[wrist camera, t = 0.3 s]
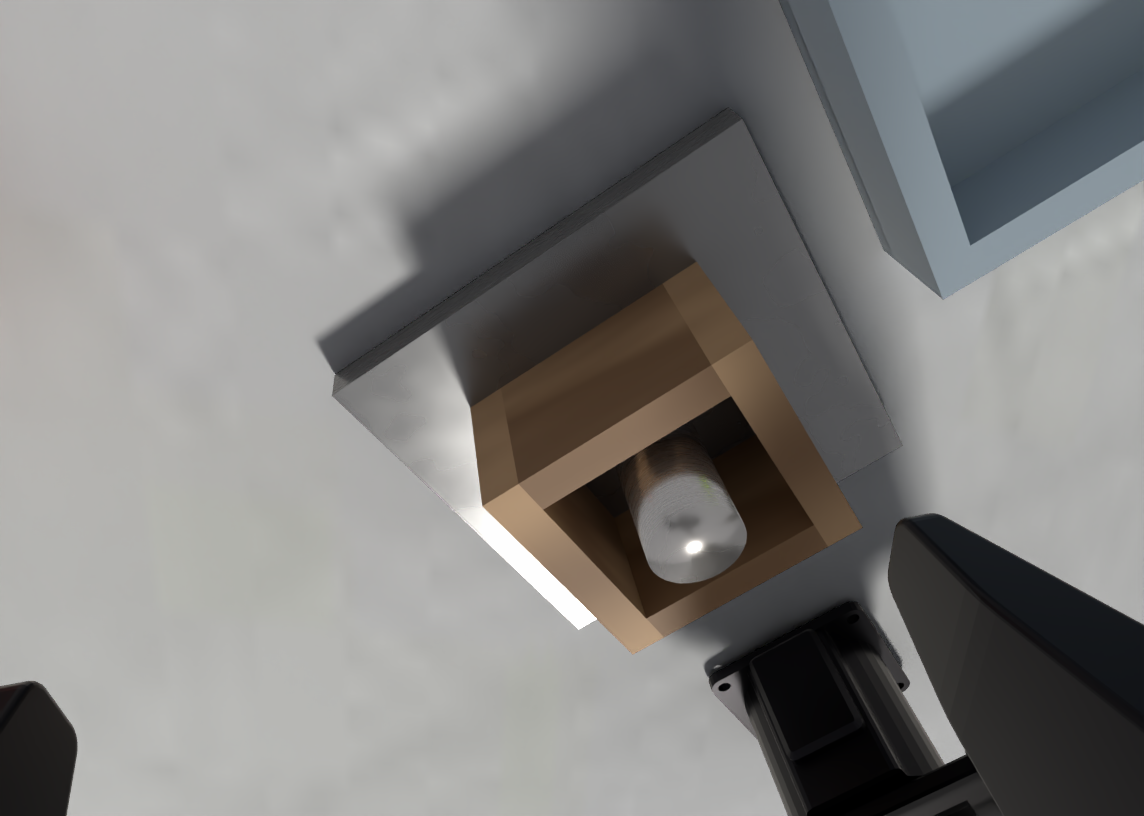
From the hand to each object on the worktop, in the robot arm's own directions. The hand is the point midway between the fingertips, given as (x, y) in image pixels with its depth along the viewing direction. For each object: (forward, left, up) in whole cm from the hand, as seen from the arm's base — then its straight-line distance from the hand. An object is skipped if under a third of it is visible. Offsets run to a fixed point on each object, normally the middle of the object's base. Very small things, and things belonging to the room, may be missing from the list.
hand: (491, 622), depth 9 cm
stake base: (-8, -1, -13) cm, 16 cm away
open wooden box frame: (-8, -1, -12) cm, 15 cm away
